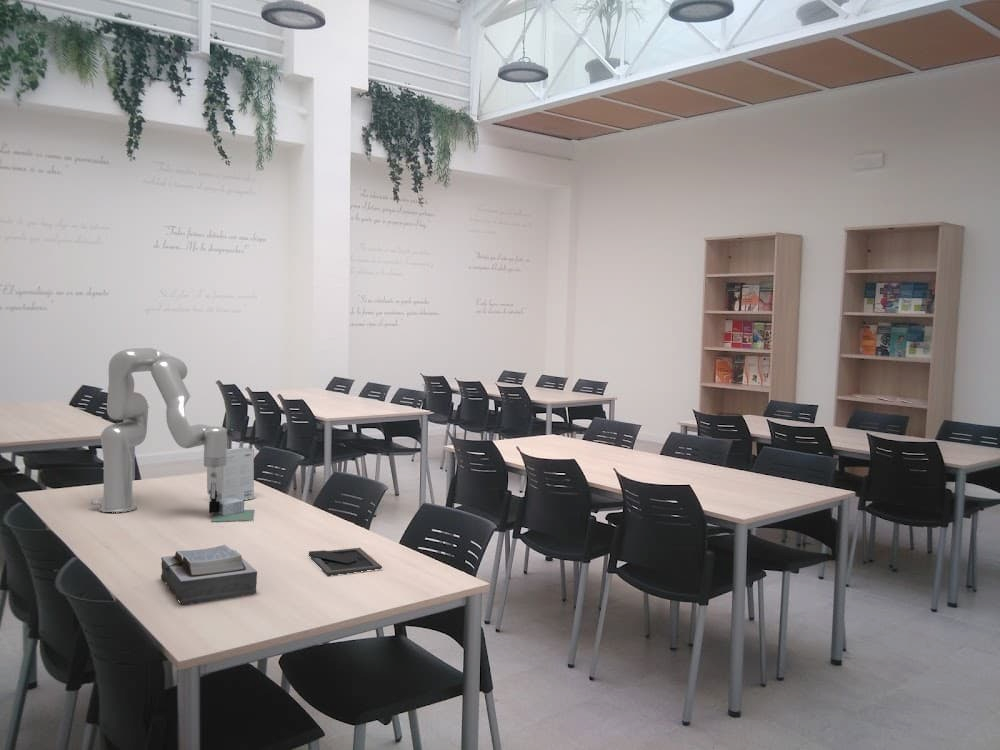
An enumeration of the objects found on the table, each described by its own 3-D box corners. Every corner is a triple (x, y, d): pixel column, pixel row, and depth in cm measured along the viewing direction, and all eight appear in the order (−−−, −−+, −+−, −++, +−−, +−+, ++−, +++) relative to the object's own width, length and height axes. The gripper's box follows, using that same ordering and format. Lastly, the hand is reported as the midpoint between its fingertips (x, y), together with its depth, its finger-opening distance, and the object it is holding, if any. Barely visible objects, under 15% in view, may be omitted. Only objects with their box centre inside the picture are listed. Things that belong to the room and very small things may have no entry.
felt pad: (211, 522, 280) (211, 521, 280) (214, 511, 295) (214, 510, 295) (253, 521, 284) (253, 519, 283) (254, 510, 299) (254, 509, 299)
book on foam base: (159, 609, 197) (159, 569, 196) (160, 576, 222) (160, 541, 221) (258, 599, 206) (258, 561, 205) (248, 568, 231) (248, 534, 230)
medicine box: (222, 516, 288) (244, 512, 294) (223, 503, 287) (244, 500, 294) (211, 512, 293) (232, 508, 299) (211, 499, 292) (233, 496, 299)
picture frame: (308, 557, 243) (327, 578, 225) (308, 551, 243) (327, 571, 225) (359, 552, 251) (381, 571, 232) (359, 546, 251) (382, 565, 232)
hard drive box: (242, 496, 322) (243, 447, 321) (254, 499, 318) (255, 449, 317) (208, 502, 310) (208, 451, 309) (220, 505, 305) (221, 453, 304)
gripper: (224, 465, 280) (223, 517, 281) (227, 457, 294) (226, 507, 296) (201, 465, 278) (200, 517, 279) (205, 458, 293) (204, 507, 294)
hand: (214, 512), depth 287 cm, fingers closed
